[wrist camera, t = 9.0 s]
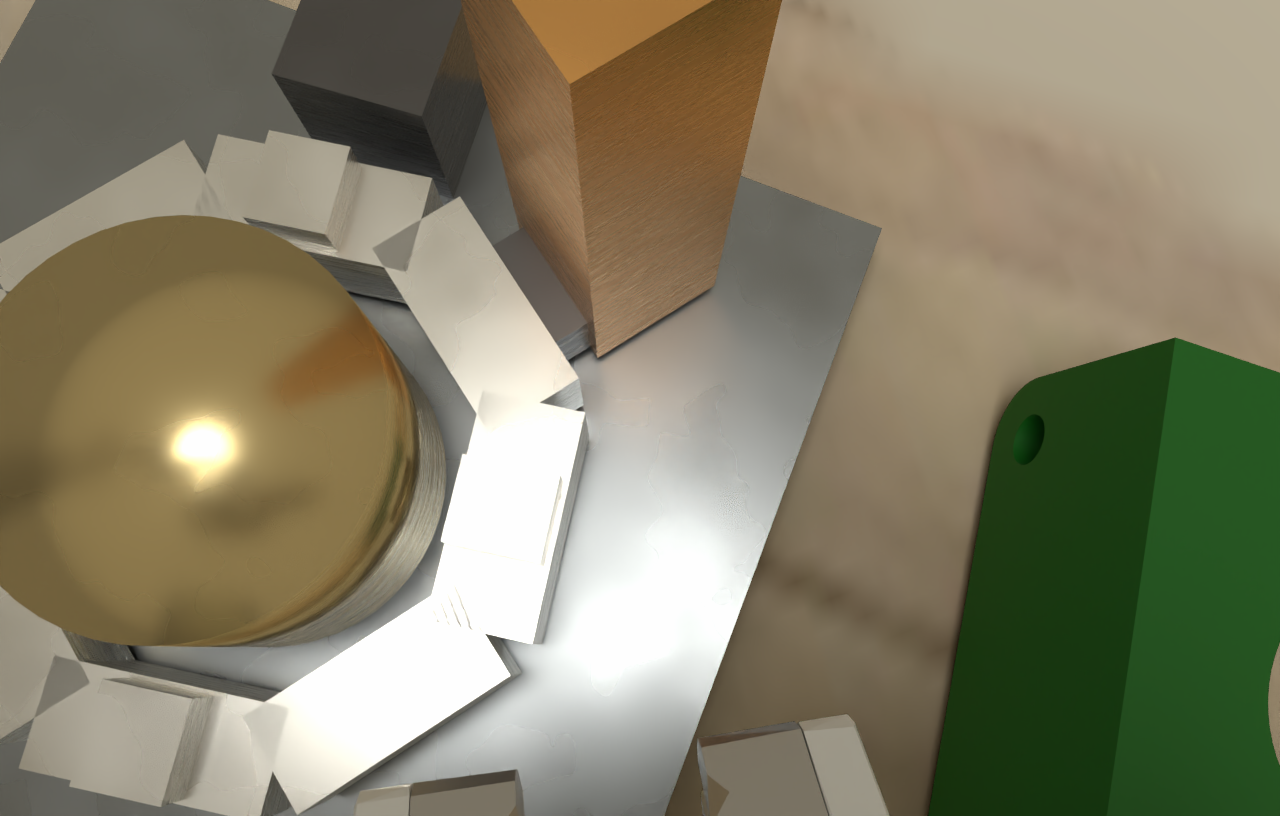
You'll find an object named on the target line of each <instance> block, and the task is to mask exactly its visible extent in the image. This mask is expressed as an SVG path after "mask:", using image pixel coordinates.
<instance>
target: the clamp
mask: <svg viewBox="0 0 1280 816" xmlns="http://www.w3.org/2000/svg"><path fill="white" fill-rule="evenodd" d="M1279 643H1280V373H1279V372H1276V371H1273V370H1270V369H1267V368H1264V367H1261V366H1258V365H1255V364H1252V363H1249V362H1246V361H1243V360H1240V359H1237V358H1234V357H1231V356H1229V355H1226V354H1223V353H1220V352H1217V351H1214V350H1211V349H1208V348H1205V347H1202V346H1199V345H1196V344H1193V343H1190V342H1187V341H1184V340H1181V339H1178V338H1172V339H1169V340H1166V341H1162V342H1159V343H1155V344H1152V345H1149V346H1145V347H1142V348H1138V349H1135V350H1131V351H1128V352H1125V353H1121V354H1118V355H1114V356H1111V357H1107V358H1104V359H1101V360H1097V361H1094V362H1090V363H1087V364H1084V365H1080V366H1077V367H1073V368H1070V369H1066V370H1063V371H1060V372H1056V373H1053V374H1049V375H1046V376H1043V377H1039V378H1036V379H1034V380H1032V381H1030V382H1029V383H1028V384H1026V385H1025V386H1024V387H1023V388H1022V389H1021V390H1020V391H1019V392H1018V393H1017V394H1016V395H1015V397H1014V398H1013V399H1012V401H1011V402H1010V404H1009V405H1008V407H1007V409H1006V410H1005V412H1004V414H1003V416H1002V419H1001V421H1000V423H999V426H998V429H997V432H996V435H995V439H994V443H993V448H992V454H991V460H990V465H989V471H988V477H987V482H986V488H985V494H984V500H983V505H982V511H981V517H980V522H979V528H978V534H977V540H976V545H975V551H974V557H973V562H972V568H971V574H970V580H969V585H968V591H967V597H966V602H965V608H964V614H963V620H962V625H961V631H960V637H959V642H958V648H957V654H956V659H955V665H954V671H953V677H952V682H951V688H950V694H949V699H948V705H947V711H946V717H945V722H944V728H943V734H942V739H941V745H940V751H939V757H938V762H937V768H936V774H935V779H934V785H933V791H932V797H931V802H930V808H929V814H928V816H1280V765H1279V763H1278V760H1277V757H1276V754H1275V750H1274V746H1273V743H1272V737H1271V732H1270V726H1269V716H1268V691H1269V681H1270V675H1271V669H1272V665H1273V661H1274V657H1275V654H1276V651H1277V649H1278V646H1279Z"/></svg>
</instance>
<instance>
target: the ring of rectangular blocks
mask: <svg viewBox="0 0 1280 816" xmlns="http://www.w3.org/2000/svg"><path fill="white" fill-rule="evenodd" d="M781 2H782V0H461V4H462V8H463V12H464V16H465V19H466V23H467V27H468V31H469V35H470V39H471V43H472V47H473V51H474V54H475V58H476V62H477V66H478V70H479V74H480V78H481V82H482V86H483V89H484V93H485V97H486V101H487V105H488V109H489V113H490V117H491V121H492V124H493V128H494V132H495V136H496V140H497V144H498V148H499V152H500V156H501V159H502V163H503V167H504V171H505V175H506V179H507V183H508V187H509V191H510V194H511V198H512V202H513V206H514V210H515V214H516V218H517V222H518V226H519V230H518V231H516V232H514V233H513V234H511V235H509V236H508V237H506V238H504V239H503V240H501V241H499V242H498V243H496V244H494V245H493V246H492V245H491V243H490V242H489V240H488V239H487V237H486V236H485V234H484V233H483V231H482V229H481V228H480V226H479V225H478V223H477V222H476V220H475V219H474V217H473V216H472V214H471V213H470V211H469V210H468V208H467V207H466V205H465V203H464V202H463V200H462V199H461V197H458V198H456V199H455V200H453V201H451V202H449V203H448V204H446V205H443V203H442V201H441V198H440V196H439V193H438V191H437V188H436V186H435V184H434V181H433V179H432V178H430V177H425V176H420V175H415V174H410V173H405V172H400V171H396V170H391V169H386V168H381V167H376V166H371V165H366V164H361V163H359V161H358V160H357V158H356V156H355V154H354V152H353V151H352V149H351V147H349V146H344V145H340V144H335V143H330V142H325V141H320V140H315V139H310V138H305V137H300V136H296V135H291V134H286V133H281V132H276V131H271V130H269V132H268V135H267V138H266V142H265V144H264V143H259V142H254V141H249V140H244V139H239V138H234V137H230V136H225V135H220V134H218V136H217V139H216V142H215V145H214V149H213V152H212V155H211V158H210V161H209V164H208V167H207V166H206V165H205V163H204V162H203V161H202V160H201V159H200V158H199V157H198V155H197V154H196V153H195V152H194V151H193V150H192V149H191V147H190V146H189V145H188V144H187V143H186V142H185V140H183V141H181V142H179V143H177V144H175V145H174V146H172V147H170V148H168V149H167V150H165V151H163V152H161V153H160V154H158V155H156V156H154V157H152V158H151V159H149V160H147V161H145V162H144V163H142V164H140V165H138V166H136V167H135V168H133V169H131V170H129V171H128V172H126V173H124V174H122V175H121V176H119V177H117V178H115V179H113V180H112V181H110V182H108V183H106V184H105V185H103V186H101V187H99V188H98V189H96V190H94V191H92V192H90V193H89V194H87V195H85V196H83V197H82V198H80V199H78V200H76V201H75V202H73V203H71V204H69V205H67V206H66V207H64V208H62V209H60V210H59V211H57V212H55V213H53V214H52V215H50V216H48V217H46V218H44V219H43V220H41V221H39V222H37V223H36V224H34V225H32V226H30V227H28V228H27V229H25V230H23V231H21V232H20V233H18V234H16V235H14V236H13V237H11V238H9V239H7V240H5V241H4V242H2V243H0V284H1V286H2V288H3V289H4V290H2V289H0V302H1V301H2V300H3V298H4V297H5V296H6V295H7V294H8V293H9V292H10V291H11V290H12V289H13V288H14V287H15V286H16V285H17V284H18V283H19V282H20V281H21V280H22V279H23V278H24V277H25V276H26V275H28V274H29V273H30V272H31V271H33V270H34V269H35V268H37V267H38V266H39V265H40V264H42V263H43V262H44V261H46V260H47V259H48V258H50V257H51V256H53V255H55V254H56V253H58V252H59V251H61V250H63V249H64V248H66V247H68V246H69V245H71V244H73V243H75V242H77V241H79V240H81V239H83V238H86V237H88V236H90V235H92V234H94V233H97V232H99V231H101V230H105V229H108V228H111V227H114V226H117V225H120V224H123V223H126V222H131V221H136V220H141V219H147V218H152V217H161V216H175V215H193V216H211V217H216V218H222V219H228V220H233V221H238V222H241V223H244V224H248V225H251V226H254V227H257V228H260V229H263V230H265V231H268V232H270V233H272V234H274V235H276V236H278V237H280V238H283V239H285V240H287V241H288V242H290V243H292V244H293V245H295V246H296V247H298V248H299V249H301V250H303V251H304V252H306V253H307V254H309V255H310V256H311V257H312V258H314V259H315V260H316V261H317V262H318V263H320V264H321V265H322V266H323V267H324V268H325V269H327V270H328V271H329V272H330V273H331V274H332V275H333V276H334V278H335V279H336V280H337V281H338V282H339V283H340V284H341V285H342V287H343V288H344V289H345V290H346V291H348V292H353V293H358V294H362V295H367V296H372V297H377V298H382V299H386V300H391V301H396V302H401V303H405V304H408V306H409V308H410V309H411V311H412V312H413V314H414V315H415V317H416V319H417V320H418V322H419V323H420V325H421V326H422V328H423V330H424V331H425V333H426V334H427V336H428V338H429V339H430V341H431V342H432V344H433V345H434V347H435V349H436V350H437V352H438V353H439V355H440V357H441V358H442V360H443V361H444V363H445V364H446V366H447V368H448V369H449V371H450V372H451V374H452V376H453V377H454V379H455V380H456V382H457V383H458V385H459V387H460V388H461V390H462V391H463V393H464V395H465V396H466V398H467V399H468V401H469V402H470V404H471V406H472V407H473V409H474V410H475V412H476V414H477V415H476V419H475V423H474V427H473V431H472V435H471V439H470V443H469V447H468V451H467V455H465V454H462V458H461V462H460V466H459V470H458V474H457V478H456V482H455V486H454V490H453V494H452V498H451V502H450V506H449V510H448V514H447V518H446V522H445V526H444V530H443V534H442V538H441V542H443V543H444V548H443V552H442V556H441V560H440V564H439V568H438V572H437V576H436V580H435V584H434V588H433V592H432V596H430V597H429V598H427V599H425V600H424V601H422V602H421V603H419V604H418V605H416V606H415V607H413V608H411V609H410V610H408V611H407V612H405V613H404V614H402V615H400V616H399V617H397V618H396V619H394V620H393V621H391V622H389V623H388V624H386V625H385V626H383V627H382V628H380V629H379V630H377V631H375V632H374V633H372V634H371V635H369V636H368V637H366V638H364V639H363V640H361V641H360V642H358V643H357V644H355V645H354V646H352V647H350V648H349V649H347V650H346V651H344V652H343V653H341V654H339V655H338V656H336V657H335V658H333V659H332V660H330V661H328V662H327V663H325V664H324V665H322V666H321V667H319V668H318V669H316V670H314V671H313V672H311V673H310V674H308V675H307V676H305V677H303V678H302V679H300V680H299V681H297V682H296V683H294V684H293V685H291V686H289V687H288V688H286V689H285V690H283V691H282V692H278V691H273V690H269V689H264V688H260V687H255V686H251V685H246V684H242V683H237V682H232V681H228V680H223V679H219V678H214V677H210V676H205V675H201V674H196V673H192V672H187V671H183V670H178V669H174V668H169V667H165V666H160V665H156V664H151V663H147V662H142V661H138V660H135V659H134V657H133V656H132V654H131V652H130V650H129V648H128V646H127V645H120V644H115V643H109V642H104V641H99V640H93V639H90V638H87V637H84V636H81V635H78V634H75V633H72V632H69V631H66V630H64V629H62V628H60V627H58V626H56V625H54V624H52V623H50V622H48V621H46V620H44V619H42V618H40V617H38V616H37V615H35V614H34V613H33V612H31V611H30V610H28V609H27V608H25V607H24V606H23V605H21V604H20V603H18V602H17V601H15V600H14V599H13V598H12V597H11V596H10V595H9V594H8V593H7V592H6V591H5V590H4V589H3V588H2V587H1V586H0V744H5V743H12V742H19V741H25V740H27V743H26V746H25V749H24V753H23V756H22V759H21V762H20V765H19V769H23V770H27V771H32V772H36V773H41V774H45V775H50V776H54V777H58V778H63V779H67V780H71V782H70V785H69V787H74V788H78V789H83V790H87V791H91V792H96V793H100V794H105V795H109V796H114V797H118V798H122V799H127V800H131V801H136V802H140V803H145V804H149V805H153V806H158V807H163V806H166V805H169V804H172V803H174V804H178V805H182V806H187V807H191V808H196V809H200V810H205V811H209V812H214V813H218V814H222V815H227V816H274V815H276V814H278V813H281V812H283V811H285V810H287V809H289V808H291V807H293V809H294V810H295V812H296V814H297V815H299V814H301V813H303V812H305V811H307V810H309V809H311V808H313V807H315V806H317V805H319V804H321V803H323V802H325V801H327V800H329V799H331V798H333V797H334V796H336V795H337V794H339V793H340V792H342V791H343V790H345V789H346V788H348V787H349V786H351V785H352V784H354V783H355V782H357V781H359V780H360V779H362V778H363V777H365V776H366V775H368V774H369V773H371V772H372V771H374V770H375V769H377V768H378V767H380V766H381V765H383V764H384V763H386V762H387V761H389V760H391V759H392V758H394V757H395V756H397V755H398V754H400V753H401V752H403V751H404V750H406V749H407V748H409V747H410V746H412V745H413V744H415V743H416V742H418V741H419V740H421V739H423V738H424V737H426V736H427V735H429V734H430V733H432V732H433V731H435V730H436V729H438V728H439V727H441V726H442V725H444V724H445V723H447V722H448V721H450V720H451V719H453V718H455V717H456V716H458V715H459V714H461V713H462V712H464V711H465V710H467V709H468V708H470V707H471V706H473V705H474V704H476V703H477V702H479V701H480V700H482V699H483V698H485V697H487V696H488V695H490V694H491V693H493V692H494V691H496V690H497V689H499V688H500V687H502V686H503V685H505V684H506V683H508V682H509V681H511V680H512V679H514V678H515V677H517V676H519V675H520V674H522V672H521V670H520V668H519V667H518V665H517V663H516V662H515V660H514V659H513V657H512V655H511V654H510V652H509V650H508V649H507V647H506V645H505V644H504V642H503V641H502V639H501V637H503V638H508V639H512V640H517V641H521V642H526V643H531V644H541V645H542V642H543V638H544V633H545V629H546V625H547V620H548V616H549V611H550V607H551V603H552V598H553V594H554V589H555V585H556V580H557V576H558V572H559V567H560V563H561V558H562V554H563V550H564V545H565V541H566V536H567V532H568V527H569V523H570V519H571V514H572V510H573V505H574V501H575V497H576V492H577V488H578V483H579V479H580V474H581V470H582V466H583V461H584V457H585V452H586V448H587V444H588V439H589V432H588V426H587V421H586V415H585V412H580V411H576V409H578V408H579V407H581V406H583V405H584V404H583V398H582V393H581V387H580V381H579V378H578V376H577V375H576V373H575V371H574V370H573V368H572V367H571V365H570V364H569V362H568V360H570V359H571V358H573V357H574V356H576V355H578V354H579V353H581V352H582V351H584V350H586V349H587V348H589V347H591V349H592V350H593V352H594V353H595V355H596V356H597V358H599V357H600V356H602V355H603V354H605V353H607V352H608V351H610V350H612V349H613V348H615V347H616V346H618V345H620V344H621V343H623V342H624V341H626V340H628V339H629V338H631V337H632V336H634V335H636V334H637V333H639V332H640V331H642V330H644V329H645V328H647V327H648V326H650V325H652V324H653V323H655V322H656V321H658V320H660V319H661V318H663V317H665V316H666V315H668V314H669V313H671V312H673V311H674V310H676V309H677V308H679V307H681V306H682V305H684V304H685V303H687V302H689V301H690V300H692V299H693V298H695V297H697V296H698V295H700V294H701V293H703V292H705V291H706V290H708V289H709V288H711V287H713V286H714V285H715V281H716V277H717V272H718V268H719V264H720V260H721V255H722V251H723V247H724V243H725V239H726V234H727V230H728V226H729V222H730V217H731V213H732V209H733V205H734V201H735V196H736V192H737V188H738V184H739V179H740V175H741V171H742V167H743V162H744V158H745V154H746V150H747V146H748V141H749V137H750V133H751V129H752V124H753V120H754V116H755V112H756V108H757V103H758V99H759V95H760V91H761V86H762V82H763V78H764V74H765V70H766V65H767V61H768V57H769V53H770V48H771V44H772V40H773V36H774V32H775V27H776V23H777V19H778V15H779V10H780V6H781Z"/></svg>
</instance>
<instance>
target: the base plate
mask: <svg viewBox="0 0 1280 816" xmlns="http://www.w3.org/2000/svg"><path fill="white" fill-rule="evenodd" d="M269 130H271V131H276V132H281V133H286V134H291V135H296V136H300V137H305V138H310V139H315V140H320V141H325V142H330V143H335V144H340V145H344V146H349V147H351V149H352V151H353V152H354V154H355V156H356V158H357V160H358V161H359V163H361V164H366V165H371V166H376V167H381V168H386V169H391V170H396V171H400V172H405V173H410V174H415V175H420V176H425V177H430V178H432V179H433V181H434V184H435V186H436V188H437V191H438V193H439V196H440V198H441V201H442V203H443V205H446V204H448V203H449V202H451V201H453V200H455V199H456V198H458V197H461V199H462V200H463V202H464V203H465V205H466V207H467V208H468V210H469V211H470V213H471V214H472V216H473V217H474V219H475V220H476V222H477V223H478V225H479V226H480V228H481V229H482V231H483V233H484V234H485V236H486V237H487V239H488V240H489V242H490V243H491V245H492V246H493V245H494V244H496V243H498V242H499V241H501V240H503V239H504V238H506V237H508V236H509V235H511V234H513V233H514V232H516V231H518V230H519V226H518V222H517V218H516V214H515V210H514V206H513V202H512V198H511V194H510V191H509V187H508V183H507V179H506V175H505V171H504V167H503V163H502V159H501V156H500V152H499V148H498V144H497V140H496V136H495V132H494V128H493V124H492V121H491V117H490V113H489V109H488V105H487V101H486V97H485V93H484V89H483V86H482V82H481V78H480V74H479V70H478V66H477V62H476V58H475V54H474V51H473V47H472V43H471V39H470V35H469V31H468V27H467V23H466V19H465V16H464V12H463V8H462V4H461V0H301V1H300V4H299V6H298V9H297V11H295V10H293V9H290V8H287V7H285V6H282V5H279V4H276V3H274V2H271V1H268V0H36V1H35V3H34V4H33V6H32V8H31V10H30V11H29V13H28V15H27V17H26V18H25V20H24V22H23V24H22V26H21V27H20V29H19V31H18V33H17V34H16V36H15V38H14V40H13V41H12V43H11V45H10V47H9V49H8V50H7V52H6V54H5V56H4V57H3V59H2V61H1V63H0V243H2V242H4V241H5V240H7V239H9V238H11V237H13V236H14V235H16V234H18V233H20V232H21V231H23V230H25V229H27V228H28V227H30V226H32V225H34V224H36V223H37V222H39V221H41V220H43V219H44V218H46V217H48V216H50V215H52V214H53V213H55V212H57V211H59V210H60V209H62V208H64V207H66V206H67V205H69V204H71V203H73V202H75V201H76V200H78V199H80V198H82V197H83V196H85V195H87V194H89V193H90V192H92V191H94V190H96V189H98V188H99V187H101V186H103V185H105V184H106V183H108V182H110V181H112V180H113V179H115V178H117V177H119V176H121V175H122V174H124V173H126V172H128V171H129V170H131V169H133V168H135V167H136V166H138V165H140V164H142V163H144V162H145V161H147V160H149V159H151V158H152V157H154V156H156V155H158V154H160V153H161V152H163V151H165V150H167V149H168V148H170V147H172V146H174V145H175V144H177V143H179V142H181V141H183V140H185V142H186V143H187V144H188V145H189V146H190V147H191V149H192V150H193V151H194V152H195V153H196V154H197V155H198V157H199V158H200V159H201V160H202V161H203V162H204V163H205V165H206V166H207V167H208V164H209V161H210V158H211V155H212V152H213V149H214V145H215V142H216V139H217V136H218V134H220V135H225V136H230V137H234V138H239V139H244V140H249V141H254V142H259V143H264V144H265V142H266V138H267V135H268V132H269ZM881 229H882V228H879V227H877V226H874V225H871V224H869V223H866V222H863V221H861V220H858V219H855V218H852V217H850V216H847V215H844V214H842V213H839V212H836V211H834V210H831V209H828V208H826V207H823V206H820V205H817V204H815V203H812V202H809V201H807V200H804V199H801V198H799V197H796V196H793V195H791V194H788V193H785V192H782V191H780V190H777V189H774V188H772V187H769V186H766V185H764V184H761V183H758V182H756V181H753V180H750V179H747V178H745V177H742V176H740V179H739V184H738V188H737V192H736V196H735V201H734V205H733V209H732V213H731V217H730V222H729V226H728V230H727V234H726V239H725V243H724V247H723V251H722V255H721V260H720V264H719V268H718V272H717V277H716V281H715V285H714V286H713V287H711V288H709V289H708V290H706V291H705V292H703V293H701V294H700V295H698V296H697V297H695V298H693V299H692V300H690V301H689V302H687V303H685V304H684V305H682V306H681V307H679V308H677V309H676V310H674V311H673V312H671V313H669V314H668V315H666V316H665V317H663V318H661V319H660V320H658V321H656V322H655V323H653V324H652V325H650V326H648V327H647V328H645V329H644V330H642V331H640V332H639V333H637V334H636V335H634V336H632V337H631V338H629V339H628V340H626V341H624V342H623V343H621V344H620V345H618V346H616V347H615V348H613V349H612V350H610V351H608V352H607V353H605V354H603V355H602V356H600V357H599V358H597V356H596V355H595V353H594V352H593V350H592V349H591V347H589V348H587V349H586V350H584V351H582V352H581V353H579V354H578V355H576V356H574V357H573V358H571V359H570V360H568V362H569V364H570V365H571V367H572V368H573V370H574V371H575V373H576V375H577V376H578V378H579V381H580V387H581V393H582V398H583V404H584V405H583V406H581V407H579V408H578V409H576V411H580V412H585V415H586V421H587V426H588V432H589V439H588V444H587V448H586V452H585V457H584V461H583V466H582V470H581V474H580V479H579V483H578V488H577V492H576V497H575V501H574V505H573V510H572V514H571V519H570V523H569V527H568V532H567V536H566V541H565V545H564V550H563V554H562V558H561V563H560V567H559V572H558V576H557V580H556V585H555V589H554V594H553V598H552V603H551V607H550V611H549V616H548V620H547V625H546V629H545V633H544V638H543V642H542V645H541V644H531V643H526V642H521V641H517V640H512V639H508V638H503V637H501V639H502V641H503V642H504V644H505V645H506V647H507V649H508V650H509V652H510V654H511V655H512V657H513V659H514V660H515V662H516V663H517V665H518V667H519V668H520V670H521V672H522V674H520V675H519V676H517V677H515V678H514V679H512V680H511V681H509V682H508V683H506V684H505V685H503V686H502V687H500V688H499V689H497V690H496V691H494V692H493V693H491V694H490V695H488V696H487V697H485V698H483V699H482V700H480V701H479V702H477V703H476V704H474V705H473V706H471V707H470V708H468V709H467V710H465V711H464V712H462V713H461V714H459V715H458V716H456V717H455V718H453V719H451V720H450V721H448V722H447V723H445V724H444V725H442V726H441V727H439V728H438V729H436V730H435V731H433V732H432V733H430V734H429V735H427V736H426V737H424V738H423V739H421V740H419V741H418V742H416V743H415V744H413V745H412V746H410V747H409V748H407V749H406V750H404V751H403V752H401V753H400V754H398V755H397V756H395V757H394V758H392V759H391V760H389V761H387V762H386V763H384V764H383V765H381V766H380V767H378V768H377V769H375V770H374V771H372V772H371V773H369V774H368V775H366V776H365V777H363V778H362V779H360V780H359V781H357V782H355V783H354V784H352V785H351V786H349V787H348V788H346V789H345V790H343V791H342V792H340V793H339V794H337V795H336V796H334V797H333V798H331V799H329V800H327V801H325V802H323V803H321V804H319V805H317V806H315V807H313V808H311V809H309V810H307V811H305V812H303V813H301V814H299V815H297V814H296V812H295V810H294V809H293V807H291V808H289V809H287V810H285V811H283V812H281V813H278V814H276V815H274V816H353V814H354V807H355V804H356V801H357V799H358V796H359V793H360V791H364V790H371V789H377V788H384V787H391V786H397V785H404V784H411V783H417V782H425V781H432V780H440V779H447V778H455V777H462V776H470V775H477V774H485V773H492V772H500V771H507V770H515V769H517V770H518V773H519V777H520V781H521V785H522V789H523V798H524V814H525V816H664V814H665V812H666V809H667V806H668V804H669V801H670V798H671V796H672V793H673V790H674V787H675V785H676V782H677V779H678V777H679V774H680V771H681V769H682V766H683V763H684V760H685V758H686V755H687V752H688V750H689V747H690V744H691V742H692V739H693V736H694V734H695V731H696V728H697V725H698V723H699V720H700V717H701V715H702V712H703V709H704V707H705V704H706V701H707V698H708V696H709V693H710V690H711V688H712V685H713V682H714V680H715V677H716V674H717V672H718V669H719V666H720V663H721V661H722V658H723V655H724V653H725V650H726V647H727V645H728V642H729V639H730V636H731V634H732V631H733V628H734V626H735V623H736V620H737V618H738V615H739V612H740V609H741V607H742V604H743V601H744V599H745V596H746V593H747V591H748V588H749V585H750V583H751V580H752V577H753V574H754V572H755V569H756V566H757V564H758V561H759V558H760V556H761V553H762V550H763V547H764V545H765V542H766V539H767V537H768V534H769V531H770V529H771V526H772V523H773V520H774V518H775V515H776V512H777V510H778V507H779V504H780V502H781V499H782V496H783V494H784V491H785V488H786V485H787V483H788V480H789V477H790V475H791V472H792V469H793V467H794V464H795V461H796V458H797V456H798V453H799V450H800V448H801V445H802V442H803V440H804V437H805V434H806V432H807V429H808V426H809V423H810V421H811V418H812V415H813V413H814V410H815V407H816V405H817V402H818V399H819V396H820V394H821V391H822V388H823V386H824V383H825V380H826V378H827V375H828V372H829V369H830V367H831V364H832V361H833V359H834V356H835V353H836V351H837V348H838V345H839V343H840V340H841V337H842V334H843V332H844V329H845V326H846V324H847V321H848V318H849V316H850V313H851V310H852V307H853V305H854V302H855V299H856V297H857V294H858V291H859V289H860V286H861V283H862V280H863V278H864V275H865V272H866V270H867V267H868V264H869V262H870V259H871V256H872V254H873V251H874V248H875V245H876V243H877V240H878V237H879V235H880V232H881ZM0 289H2V290H4V289H3V288H2V286H1V284H0ZM476 415H477V414H476V412H475V410H474V409H473V407H472V406H471V404H470V402H469V401H468V399H467V398H466V396H465V395H464V393H463V391H462V390H461V388H460V387H459V385H458V383H457V382H456V380H455V379H454V377H453V376H452V374H451V372H450V371H449V369H448V368H447V366H446V364H445V363H444V361H443V360H442V358H441V357H440V355H439V353H438V352H437V350H436V349H435V347H434V345H433V344H432V342H431V341H430V339H429V338H428V336H427V334H426V333H425V331H424V330H423V328H422V326H421V325H420V323H419V322H418V320H417V319H416V317H415V315H414V314H413V312H412V311H411V309H410V308H409V306H408V304H405V303H401V302H396V301H391V300H386V299H382V298H377V297H372V296H367V295H362V294H358V293H353V292H348V291H346V290H345V289H344V288H343V287H342V285H341V284H340V283H339V282H338V281H337V280H336V279H335V278H334V276H333V275H332V274H331V273H330V272H329V271H328V270H327V269H325V268H324V267H323V266H322V265H321V264H320V263H318V262H317V261H316V260H315V259H314V258H312V257H311V256H310V255H309V254H307V253H306V252H304V251H303V250H301V249H299V248H298V247H296V246H295V245H293V244H292V243H290V242H288V241H287V240H285V239H283V238H280V237H278V236H276V235H274V234H272V233H270V232H268V231H265V230H263V229H260V228H257V227H254V226H251V225H248V224H244V223H241V222H238V221H233V220H228V219H222V218H216V217H211V216H193V215H175V216H161V217H152V218H147V219H141V220H136V221H131V222H126V223H123V224H120V225H117V226H114V227H111V228H108V229H105V230H101V231H99V232H97V233H94V234H92V235H90V236H88V237H86V238H83V239H81V240H79V241H77V242H75V243H73V244H71V245H69V246H68V247H66V248H64V249H63V250H61V251H59V252H58V253H56V254H55V255H53V256H51V257H50V258H48V259H47V260H46V261H44V262H43V263H42V264H40V265H39V266H38V267H37V268H35V269H34V270H33V271H31V272H30V273H29V274H28V275H26V276H25V277H24V278H23V279H22V280H21V281H20V282H19V283H18V284H17V285H16V286H15V287H14V288H13V289H12V290H11V291H10V292H9V293H8V294H7V295H6V296H5V297H4V298H3V300H2V301H1V302H0V586H1V587H2V588H3V589H4V590H5V591H6V592H7V593H8V594H9V595H10V596H11V597H12V598H13V599H14V600H15V601H17V602H18V603H20V604H21V605H23V606H24V607H25V608H27V609H28V610H30V611H31V612H33V613H34V614H35V615H37V616H38V617H40V618H42V619H44V620H46V621H48V622H50V623H52V624H54V625H56V626H58V627H60V628H62V629H64V630H66V631H69V632H72V633H75V634H78V635H81V636H84V637H87V638H90V639H93V640H99V641H104V642H109V643H115V644H120V645H127V646H128V648H129V650H130V652H131V654H132V656H133V657H134V659H135V660H138V661H142V662H147V663H151V664H156V665H160V666H165V667H169V668H174V669H178V670H183V671H187V672H192V673H196V674H201V675H205V676H210V677H214V678H219V679H223V680H228V681H232V682H237V683H242V684H246V685H251V686H255V687H260V688H264V689H269V690H273V691H278V692H282V691H283V690H285V689H286V688H288V687H289V686H291V685H293V684H294V683H296V682H297V681H299V680H300V679H302V678H303V677H305V676H307V675H308V674H310V673H311V672H313V671H314V670H316V669H318V668H319V667H321V666H322V665H324V664H325V663H327V662H328V661H330V660H332V659H333V658H335V657H336V656H338V655H339V654H341V653H343V652H344V651H346V650H347V649H349V648H350V647H352V646H354V645H355V644H357V643H358V642H360V641H361V640H363V639H364V638H366V637H368V636H369V635H371V634H372V633H374V632H375V631H377V630H379V629H380V628H382V627H383V626H385V625H386V624H388V623H389V622H391V621H393V620H394V619H396V618H397V617H399V616H400V615H402V614H404V613H405V612H407V611H408V610H410V609H411V608H413V607H415V606H416V605H418V604H419V603H421V602H422V601H424V600H425V599H427V598H429V597H430V596H432V592H433V588H434V584H435V580H436V576H437V572H438V568H439V564H440V560H441V556H442V552H443V548H444V543H443V542H441V538H442V534H443V530H444V526H445V522H446V518H447V514H448V510H449V506H450V502H451V498H452V494H453V490H454V486H455V482H456V478H457V474H458V470H459V466H460V462H461V458H462V454H465V455H467V451H468V447H469V443H470V439H471V435H472V431H473V427H474V423H475V419H476ZM26 743H27V740H25V741H19V742H12V743H5V744H0V816H227V815H222V814H218V813H214V812H209V811H205V810H200V809H196V808H191V807H187V806H182V805H178V804H174V803H172V804H169V805H166V806H163V807H158V806H153V805H149V804H145V803H140V802H136V801H131V800H127V799H122V798H118V797H114V796H109V795H105V794H100V793H96V792H91V791H87V790H83V789H78V788H74V787H69V785H70V782H71V780H67V779H63V778H58V777H54V776H50V775H45V774H41V773H36V772H32V771H27V770H23V769H19V765H20V762H21V759H22V756H23V753H24V749H25V746H26Z"/></svg>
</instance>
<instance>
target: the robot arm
mask: <svg viewBox="0 0 1280 816" xmlns="http://www.w3.org/2000/svg"><path fill="white" fill-rule="evenodd" d="M697 754H698V765H699V770H700V775H701V780H702V785H703V791H702V792H701V802H702V812H703V816H890V815H889V812H888V810H887V807H886V804H885V802H884V799H883V796H882V794H881V791H880V788H879V786H878V783H877V780H876V778H875V775H874V772H873V770H872V767H871V764H870V762H869V759H868V756H867V754H866V751H865V748H864V746H863V743H862V740H861V738H860V735H859V732H858V730H857V727H856V724H855V722H854V721H853V720H852V719H851V718H850V716H849V715H848V714H844V715H838V716H832V717H825V718H819V719H813V720H807V721H801V722H798V723H797V724H796V723H795V722H794V721H793V722H788V723H782V724H776V725H771V726H765V727H759V728H753V729H748V730H742V731H736V732H730V733H725V734H719V735H713V736H707V737H702V738H697ZM353 816H525V814H524V798H523V789H522V785H521V781H520V777H519V773H518V770H517V769H515V770H507V771H500V772H492V773H485V774H477V775H470V776H462V777H455V778H447V779H440V780H432V781H425V782H417V783H411V784H404V785H397V786H391V787H384V788H377V789H371V790H364V791H360V793H359V796H358V799H357V801H356V804H355V807H354V814H353Z"/></svg>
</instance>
